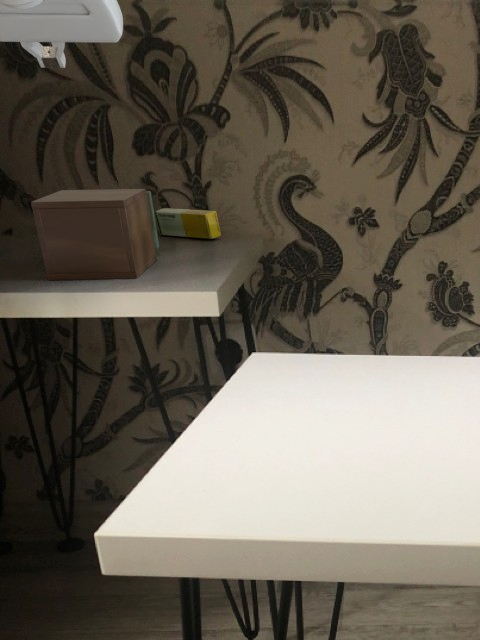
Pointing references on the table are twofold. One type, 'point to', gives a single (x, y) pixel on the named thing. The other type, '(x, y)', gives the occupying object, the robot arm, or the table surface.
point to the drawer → (152, 219)
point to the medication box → (188, 223)
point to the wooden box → (95, 234)
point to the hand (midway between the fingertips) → (53, 63)
